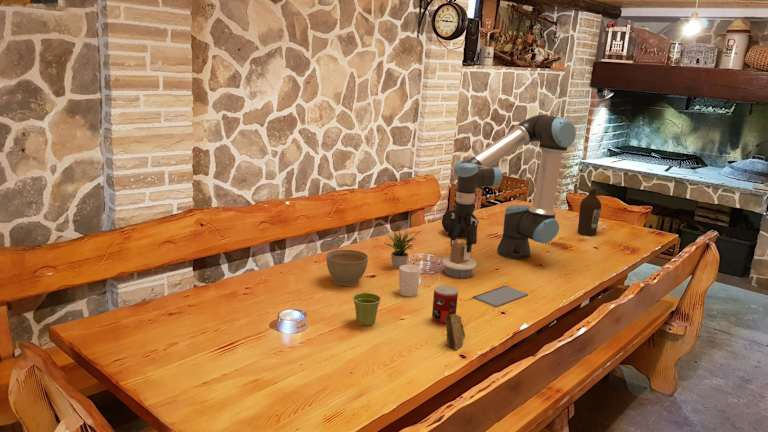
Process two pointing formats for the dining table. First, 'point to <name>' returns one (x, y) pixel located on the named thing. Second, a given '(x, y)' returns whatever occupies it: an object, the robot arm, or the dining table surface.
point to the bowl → (458, 272)
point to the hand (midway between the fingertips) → (459, 257)
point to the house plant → (400, 249)
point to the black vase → (446, 221)
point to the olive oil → (589, 214)
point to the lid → (458, 258)
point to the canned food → (444, 303)
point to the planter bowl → (346, 266)
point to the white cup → (409, 280)
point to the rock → (454, 331)
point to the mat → (500, 296)
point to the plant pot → (366, 308)
